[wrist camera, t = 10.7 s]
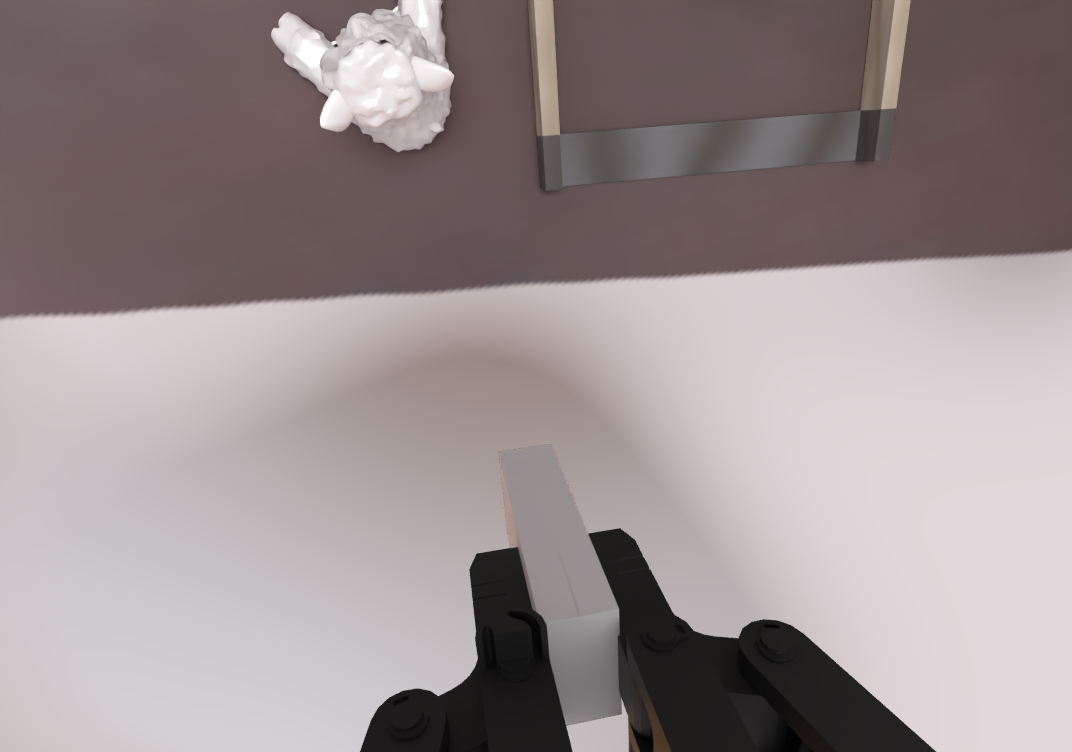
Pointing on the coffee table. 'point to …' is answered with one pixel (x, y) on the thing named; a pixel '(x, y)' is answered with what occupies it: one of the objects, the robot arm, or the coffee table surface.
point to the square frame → (725, 140)
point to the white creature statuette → (377, 71)
